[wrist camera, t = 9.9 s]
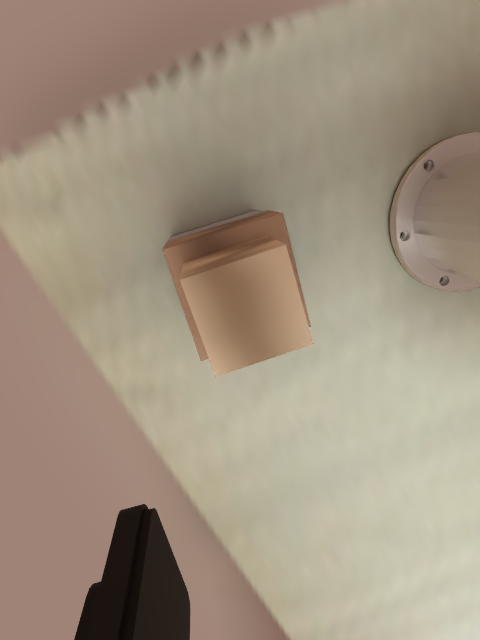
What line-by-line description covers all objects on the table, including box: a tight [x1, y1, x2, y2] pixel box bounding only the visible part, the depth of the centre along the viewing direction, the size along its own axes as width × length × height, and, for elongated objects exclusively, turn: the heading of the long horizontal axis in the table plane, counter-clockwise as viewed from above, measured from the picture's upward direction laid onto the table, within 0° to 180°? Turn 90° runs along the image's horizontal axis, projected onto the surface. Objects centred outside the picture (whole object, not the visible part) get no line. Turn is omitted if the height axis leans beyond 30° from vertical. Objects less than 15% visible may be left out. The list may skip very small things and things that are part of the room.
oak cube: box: [180, 235, 313, 377], centre depth 21 cm, size 5×5×5 cm
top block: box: [163, 211, 311, 361], centre depth 26 cm, size 7×7×5 cm
